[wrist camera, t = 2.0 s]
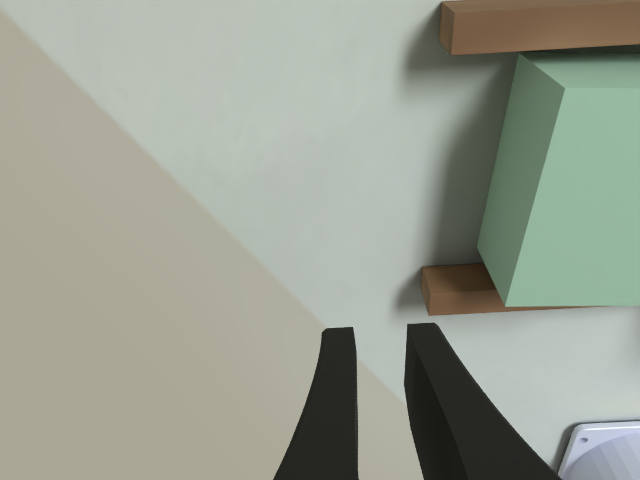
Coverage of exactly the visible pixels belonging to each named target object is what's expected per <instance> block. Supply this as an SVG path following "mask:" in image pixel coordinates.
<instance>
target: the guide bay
mask: <svg viewBox="0 0 640 480" xmlns="http://www.w3.org/2000/svg"><path fill="white" fill-rule="evenodd" d="M439 42H440V43H441V44H442V45H443V46H444V47H445V49H446V50H447V51H448V52H449V53H450V54H451V55H465V54H481V53H498V52H514V51H531V50H548V49H564V48H581V47H598V46H614V45H631V44H640V0H461V1H444V2H442V4H441V18H440V31H439ZM421 290H422V294H423V297H424V301H425V304H426V308H427V311H428V315H429V316H433V315H452V314H470V313H489V312H508V311H526V310H545V309H563V308H582V307H601V306H521V307H505V306H504V303H503V301H502V299H501V297H500V295H499V293H498V291H497V289H496V287H495V284H494V282H493V280H492V278H491V276H490V274H489V272H488V270H487V268H486V266H485V263H483V264H465V265H446V266H428V267H422V280H421Z"/></svg>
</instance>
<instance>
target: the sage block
mask: <svg viewBox="0 0 640 480" xmlns="http://www.w3.org/2000/svg"><path fill="white" fill-rule="evenodd" d="M477 249H478V251H479V253H480V255H481V257H482V259H483V261H484V263H485V266H486V268H487V270H488V272H489V274H490V276H491V278H492V280H493V282H494V284H495V287H496V289H497V291H498V293H499V295H500V297H501V299H502V301H503V303H504V306H505V307H521V306H640V53H519V54H518V59H517V64H516V68H515V73H514V77H513V82H512V87H511V91H510V96H509V100H508V105H507V110H506V114H505V119H504V123H503V128H502V133H501V137H500V142H499V146H498V151H497V156H496V160H495V165H494V169H493V174H492V179H491V183H490V188H489V193H488V197H487V202H486V206H485V211H484V216H483V220H482V225H481V229H480V234H479V239H478V243H477Z"/></svg>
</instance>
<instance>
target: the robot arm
mask: <svg viewBox="0 0 640 480" xmlns="http://www.w3.org/2000/svg"><path fill="white" fill-rule="evenodd" d="M404 387H405V394H406V401H407V408H408V415H409V421H410V427H411V431H412V435H413V439H414V443H415V447H416V451H417V454H418V458H419V462H420V466H421V470H422V474H423V478H424V480H640V421H630V422H610V423H591V424H580V425H578V426H576V427H575V428H574V430H573V433H572V435H571V438H570V441H569V444H568V447H567V450H566V452H565V455H564V458H563V461H562V464H561V466H560V469H559V472H558V475H557V474H556V473H555V472H554V471H553V470H552V469H551V468H550V467H549V466H548V465H547V464H546V463H545V462H544V461H543V460H542V459H541V458H540V457H539V456H538V455H537V453H536V452H535V451H534V450H533V449H532V448H531V447H530V446H529V445H528V444H527V443H526V442H525V441H524V439H523V438H522V437H521V436H520V435H519V434H518V433H517V432H516V430H515V429H514V428H513V427H512V426H511V425H510V424H509V422H508V421H507V420H506V419H505V418H504V417H503V415H502V414H501V413H500V412H499V411H498V409H497V408H496V407H495V406H494V404H493V403H492V402H491V401H490V399H489V398H488V397H487V395H486V394H485V393H484V392H483V390H482V389H481V388H480V386H479V385H478V384H477V383H476V381H475V380H474V379H473V377H472V376H471V375H470V373H469V372H468V370H467V369H466V368H465V366H464V365H463V363H462V362H461V360H460V359H459V358H458V356H457V355H456V353H455V352H454V350H453V349H452V347H451V346H450V344H449V342H448V341H447V339H446V338H445V336H444V334H443V333H442V331H441V329H440V328H439V326H438V325H437V324H435V323H419V324H407V342H406V359H405V377H404ZM357 408H358V407H357V356H356V345H355V337H354V330H353V327H344V328H326V329H325V330H324V331H323V332H322V340H321V347H320V353H319V358H318V363H317V367H316V370H315V374H314V378H313V381H312V385H311V388H310V391H309V394H308V397H307V400H306V403H305V406H304V409H303V412H302V414H301V417H300V419H299V422H298V424H297V427H296V430H295V432H294V435H293V437H292V440H291V442H290V445H289V447H288V449H287V451H286V453H285V456H284V458H283V460H282V463H281V464H280V467H279V469H278V471H277V473H276V475H275V477H274V479H273V480H359V478H358V411H357V410H358V409H357Z"/></svg>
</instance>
